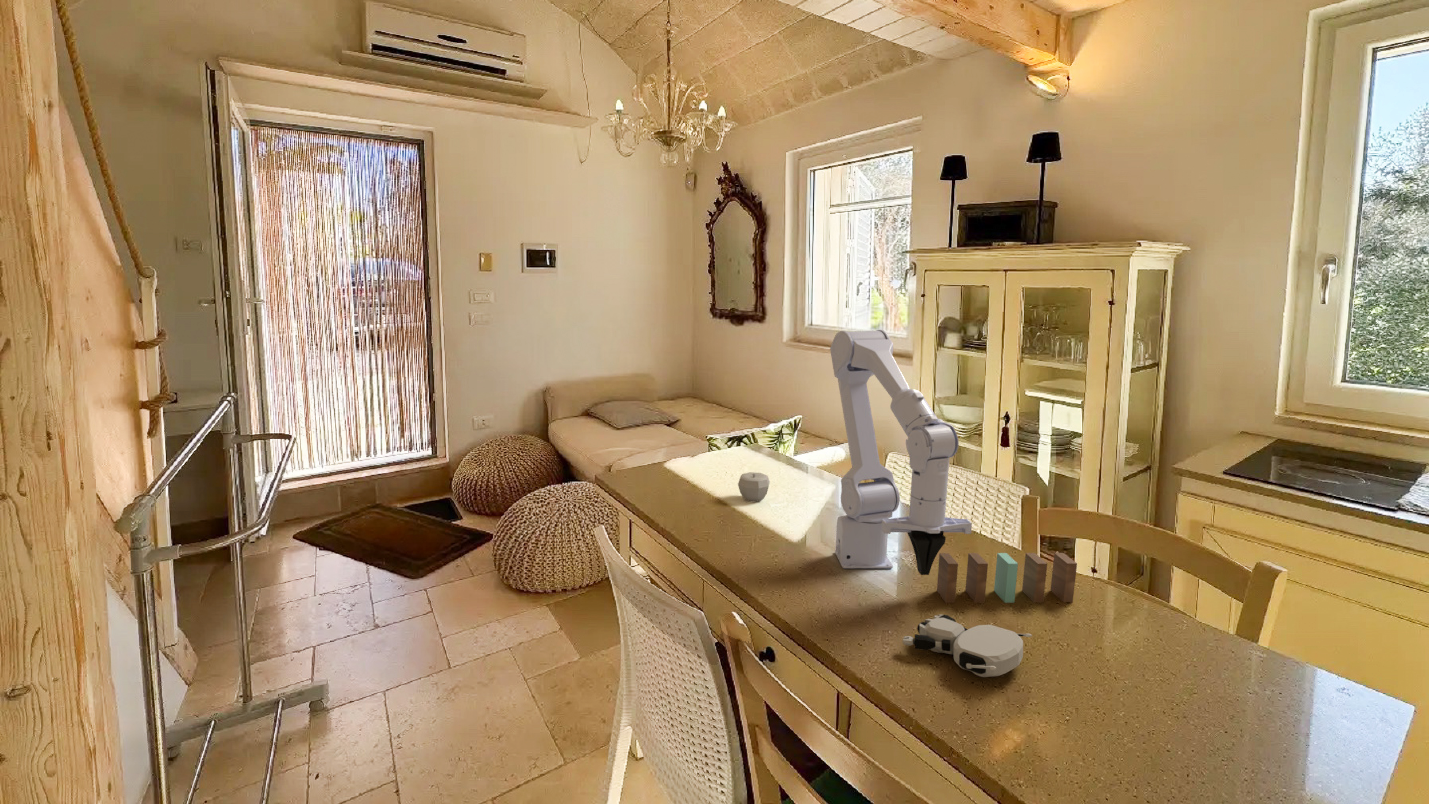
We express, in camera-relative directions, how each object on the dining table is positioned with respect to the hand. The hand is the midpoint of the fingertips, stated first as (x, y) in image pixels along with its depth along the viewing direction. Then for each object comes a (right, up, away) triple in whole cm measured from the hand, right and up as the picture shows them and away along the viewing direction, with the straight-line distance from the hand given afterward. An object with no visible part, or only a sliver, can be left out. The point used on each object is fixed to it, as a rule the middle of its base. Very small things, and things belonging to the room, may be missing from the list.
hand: (923, 572), depth 118 cm
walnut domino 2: (+9, -4, +1) cm, 10 cm away
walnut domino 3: (+19, -4, +1) cm, 20 cm away
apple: (-26, +5, +50) cm, 57 cm away
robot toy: (+1, -8, -18) cm, 20 cm away
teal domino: (+14, -4, +1) cm, 15 cm away
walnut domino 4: (+24, -4, +1) cm, 25 cm away
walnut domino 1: (+4, -4, +1) cm, 6 cm away
